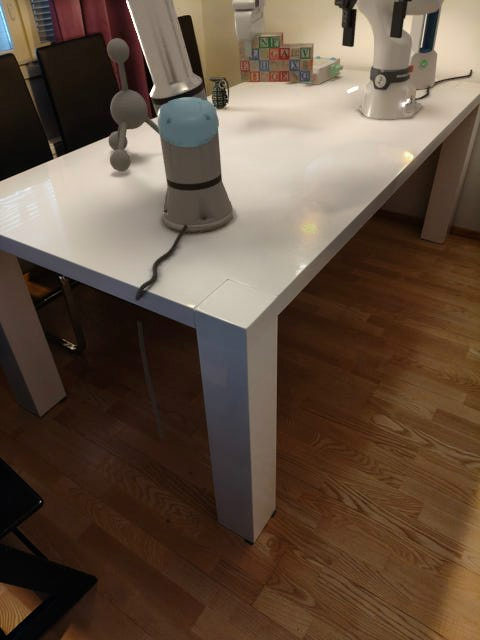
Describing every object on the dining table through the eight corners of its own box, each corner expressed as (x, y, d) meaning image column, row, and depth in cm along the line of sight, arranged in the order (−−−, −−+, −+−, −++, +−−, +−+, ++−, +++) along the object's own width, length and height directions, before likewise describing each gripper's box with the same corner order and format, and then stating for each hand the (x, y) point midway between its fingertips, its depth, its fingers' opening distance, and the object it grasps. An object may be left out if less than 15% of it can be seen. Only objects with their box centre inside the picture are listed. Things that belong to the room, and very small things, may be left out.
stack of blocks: (313, 77, 148) (314, 31, 141) (309, 82, 144) (311, 34, 136) (245, 77, 153) (243, 32, 146) (240, 82, 149) (237, 36, 141)
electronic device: (404, 91, 183) (418, -5, 165) (394, 86, 189) (407, -6, 171) (434, 87, 186) (451, -7, 167) (423, 83, 191) (438, -9, 173)
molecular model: (194, 162, 134) (180, 38, 116) (114, 177, 128) (87, 49, 110) (171, 138, 152) (156, 27, 133) (100, 151, 146) (75, 36, 127)
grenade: (209, 109, 176) (207, 79, 170) (214, 105, 180) (212, 76, 174) (227, 110, 174) (225, 79, 168) (231, 105, 179) (229, 76, 173)
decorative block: (308, 54, 216) (349, 57, 207) (307, 70, 220) (348, 74, 211) (277, 65, 200) (320, 69, 191) (277, 82, 204) (319, 87, 195)
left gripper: (417, -89, 98) (401, 32, 111) (320, -86, 88) (314, 47, 101) (448, -92, 92) (427, 36, 106) (348, -89, 83) (338, 52, 96)
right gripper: (248, -5, 146) (250, 47, 154) (230, 3, 130) (233, 60, 139) (269, -6, 144) (269, 47, 153) (253, 2, 129) (254, 60, 138)
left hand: (372, 41), depth 103 cm, fingers open, 13 cm apart
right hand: (252, 53), depth 146 cm, fingers closed on stack of blocks, 6 cm apart
